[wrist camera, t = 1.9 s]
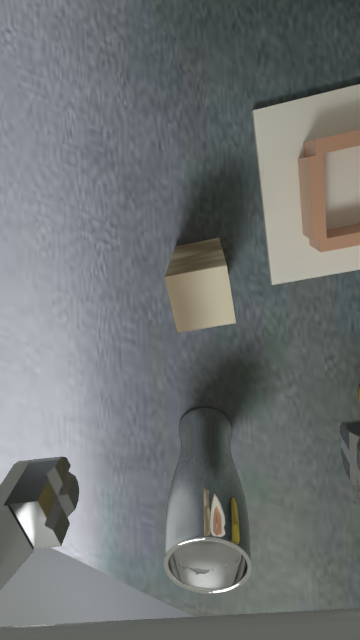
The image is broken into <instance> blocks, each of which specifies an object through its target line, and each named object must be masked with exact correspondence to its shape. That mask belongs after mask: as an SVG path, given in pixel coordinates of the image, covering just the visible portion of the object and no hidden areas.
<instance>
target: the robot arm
mask: <svg viewBox="0 0 360 640" xmlns="http://www.w3.org/2000/svg"><path fill="white" fill-rule="evenodd" d="M340 434H341V436H342V438H343V440H344V442H343V444H342V445H341V456H342V461H343V465H344V468H345V471H346V474H347V476H348V478H349V480H350V482H351V483H353V484H354V485H356V486H357V497H358V499H359V501H360V420H354V421H346V422H341V425H340ZM69 468H70V464H69V462H68V460H67V458H66V457H54V458H44V459H34V460H27V461H19V462H17V463H15V464H14V465H13V467H12V468H11V470H10V471H9V473H8V474H7V476H6V478H5V479H4V481H3V482H2V484H1V485H0V590H1V589H2V588H3V586H4V585H5V584H6V583H7V582H8V581H9V579H10V578H11V577H12V576H13V574H14V573H15V572H16V571H17V570H18V569H19V568H20V566H21V565H22V564H23V563H24V562H25V561H26V559H27V558H28V557H29V556H30V555H31V554H32V552H33V549H41V548H48V547H49V548H50V547H58V546H61V545H62V543H63V540H64V537H65V535H66V532H67V529H68V527H69V524H70V523H69V520H68V516H69V515H70V514H71V513H72V512H73V511H74V510H75V508H76V505H77V502H78V497H79V486H78V481H77V479H76V477H75V476H74V475H73V474H71V473H70V472H68V471H69ZM0 640H360V608H353V609H334V610H315V611H296V612H277V613H258V614H238V615H219V616H200V617H183V618H182V617H181V618H161V619H144V620H143V619H142V620H123V621H106V622H84V623H65V624H46V625H26V626H8V627H0Z"/></svg>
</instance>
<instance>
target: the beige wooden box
mask: <svg viewBox="0 0 360 640" xmlns="http://www.w3.org/2000/svg"><path fill="white" fill-rule="evenodd" d="M165 281H166V286H167V290H168V294H169V299H170V303H171V307H172V311H173V316H174V320H175V324H176V329H177V333H178V332H184V331H190V330H197V329H203V328H209V327H215V326H221V325H227V324H233V323H236V321H235V314H234V308H233V301H232V295H231V289H230V282H229V276H228V270H227V264H226V261H225V257H224V253H223V250H222V246H221V243H220V239H219V238H214V239H209V240H204V241H199V242H194V243H189V244H184V245H179V246H175V249H174V252H173V254H172V257H171V260H170V263H169V266H168V268H167V271H166V274H165Z"/></svg>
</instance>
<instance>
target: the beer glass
mask: <svg viewBox="0 0 360 640" xmlns="http://www.w3.org/2000/svg"><path fill="white" fill-rule="evenodd" d="M179 437H180V443H181V451H180V456H179V460H178V463H177V466H176V469H175V473H174V476H173V479H172V483H171V487H170V491H169V495H168V501H167V509H166V520H165V556H164V569H165V571H166V573H167V575H168V576H169V578H170V579H171V580H172V581H173V582H175V583H176V584H177V585H179V586H181V587H183V588H185V589H187V590H190V591H194V592H198V593H206V594H215V593H223V592H227V591H231V590H233V589H236V588H238V587H239V586H241V585H242V584H244V583H245V582H246V581H247V579H248V578H249V576H250V574H251V571H252V563H251V550H250V530H249V520H248V512H247V506H246V500H245V496H244V492H243V488H242V485H241V481H240V478H239V475H238V472H237V470H236V467H235V464H234V461H233V458H232V454H231V438H232V425H231V422H230V420H229V419H228V417H227V416H226V415H225V414H224V413H222V412H221V411H219V410H217V409H213V408H208V407H202V408H196V409H193V410H191V411H189V412H188V413H186V414H185V415H184V416H183V417H182V419H181V421H180V423H179Z"/></svg>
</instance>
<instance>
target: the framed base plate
mask: <svg viewBox="0 0 360 640" xmlns="http://www.w3.org/2000/svg"><path fill="white" fill-rule="evenodd" d="M252 120H253V129H254V138H255V147H256V157H257V166H258V175H259V184H260V193H261V202H262V211H263V220H264V230H265V239H266V248H267V257H268V266H269V275H270V283H271V284H272V285H275V284H280V283H286V282H292V281H297V280H303V279H309V278H314V277H320V276H326V275H331V274H337V273H343V272H348V271H354V270H360V84H358V85H354V86H350V87H346V88H342V89H338V90H334V91H330V92H326V93H321V94H317V95H313V96H309V97H305V98H301V99H297V100H293V101H289V102H285V103H281V104H277V105H273V106H269V107H265V108H261V109H256V110H253V111H252Z"/></svg>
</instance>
